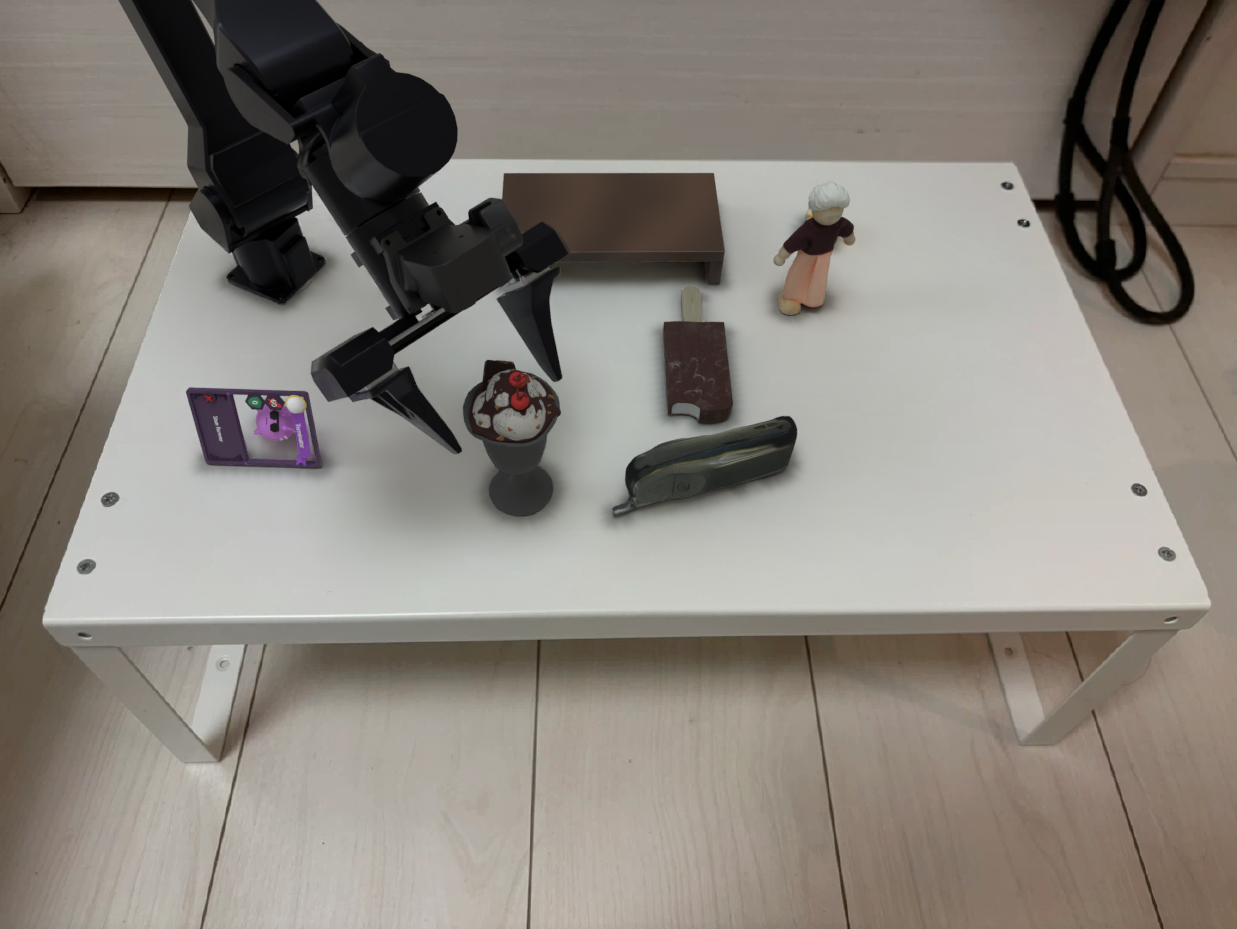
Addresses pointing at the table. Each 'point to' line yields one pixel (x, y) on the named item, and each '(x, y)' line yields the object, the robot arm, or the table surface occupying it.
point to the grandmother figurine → (814, 248)
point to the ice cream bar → (697, 364)
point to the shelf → (624, 215)
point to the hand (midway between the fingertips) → (509, 415)
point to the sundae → (513, 433)
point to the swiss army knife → (708, 462)
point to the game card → (273, 422)
